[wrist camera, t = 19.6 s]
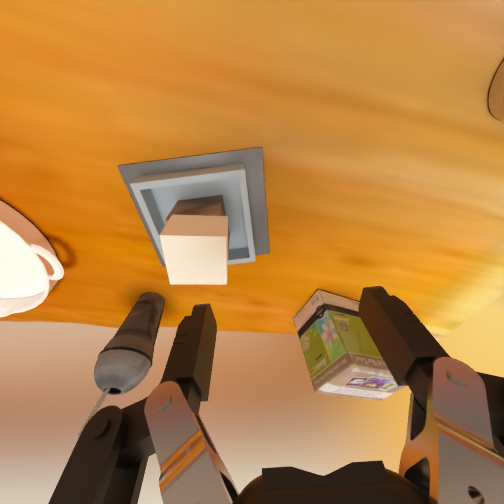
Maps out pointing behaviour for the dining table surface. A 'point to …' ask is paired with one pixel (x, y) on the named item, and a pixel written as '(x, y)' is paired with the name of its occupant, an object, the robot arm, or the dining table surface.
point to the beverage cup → (129, 350)
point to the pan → (24, 263)
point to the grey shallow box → (205, 195)
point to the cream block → (196, 249)
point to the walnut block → (200, 208)
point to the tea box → (341, 350)
